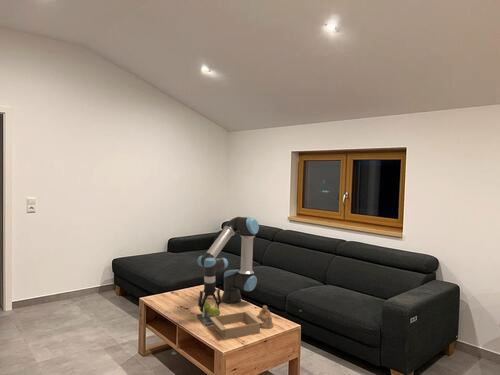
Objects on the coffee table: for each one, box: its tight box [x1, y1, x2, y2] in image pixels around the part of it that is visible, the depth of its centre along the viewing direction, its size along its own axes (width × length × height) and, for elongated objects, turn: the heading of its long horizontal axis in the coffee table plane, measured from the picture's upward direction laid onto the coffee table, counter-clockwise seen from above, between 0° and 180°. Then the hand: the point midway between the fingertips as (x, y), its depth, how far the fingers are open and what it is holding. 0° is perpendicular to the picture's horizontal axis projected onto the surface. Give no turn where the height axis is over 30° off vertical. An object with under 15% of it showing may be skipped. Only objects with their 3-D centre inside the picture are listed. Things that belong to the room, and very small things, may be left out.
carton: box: [210, 310, 263, 340], centre depth 244 cm, size 28×22×6 cm
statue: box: [256, 304, 275, 330], centre depth 252 cm, size 12×14×10 cm
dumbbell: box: [199, 301, 221, 317], centre depth 260 cm, size 16×8×7 cm, turn 36°
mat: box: [196, 313, 213, 327], centre depth 260 cm, size 12×19×2 cm, turn 25°
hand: (209, 315), depth 260 cm, fingers closed on dumbbell, 8 cm apart
